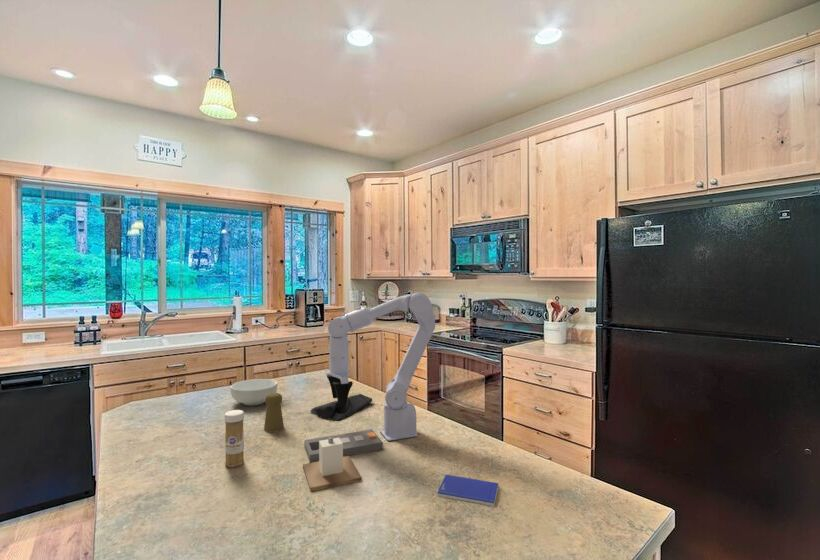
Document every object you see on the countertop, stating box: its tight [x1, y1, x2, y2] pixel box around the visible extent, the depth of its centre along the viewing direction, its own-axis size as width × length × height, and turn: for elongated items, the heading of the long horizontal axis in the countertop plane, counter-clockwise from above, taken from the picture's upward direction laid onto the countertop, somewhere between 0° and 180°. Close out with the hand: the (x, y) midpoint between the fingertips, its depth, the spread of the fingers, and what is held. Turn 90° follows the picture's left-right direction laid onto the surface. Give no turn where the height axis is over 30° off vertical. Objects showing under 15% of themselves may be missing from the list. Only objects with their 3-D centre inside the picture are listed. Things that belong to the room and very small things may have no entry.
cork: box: [263, 392, 285, 433], centre depth 127 cm, size 6×6×11 cm
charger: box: [318, 437, 344, 476], centre depth 98 cm, size 5×4×8 cm
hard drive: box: [436, 474, 499, 507], centre depth 91 cm, size 2×8×12 cm
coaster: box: [302, 455, 363, 492], centre depth 98 cm, size 12×12×1 cm
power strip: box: [304, 429, 384, 463], centre depth 113 cm, size 20×10×3 cm, turn 113°
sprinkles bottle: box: [224, 409, 245, 468], centre depth 104 cm, size 5×5×14 cm
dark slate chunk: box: [310, 393, 373, 421], centre depth 146 cm, size 15×22×5 cm
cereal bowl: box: [230, 378, 278, 406], centre depth 153 cm, size 17×17×7 cm
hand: (339, 401), depth 121 cm, fingers open, 7 cm apart
